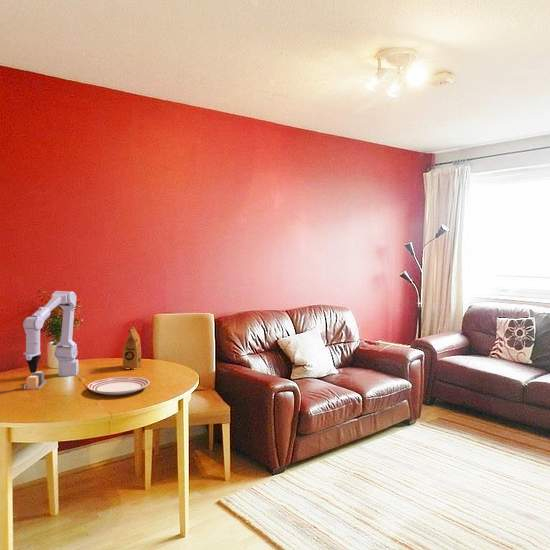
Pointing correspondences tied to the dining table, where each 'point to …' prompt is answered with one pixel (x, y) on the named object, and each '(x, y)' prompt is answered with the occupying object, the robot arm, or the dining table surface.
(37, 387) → the rail
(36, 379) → the block
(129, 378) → the dinner plate
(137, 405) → the dining table surface
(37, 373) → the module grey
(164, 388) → the dining table surface
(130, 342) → the coffee package
